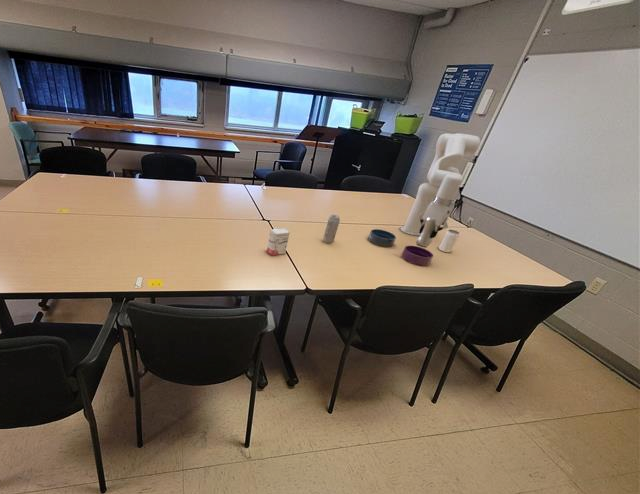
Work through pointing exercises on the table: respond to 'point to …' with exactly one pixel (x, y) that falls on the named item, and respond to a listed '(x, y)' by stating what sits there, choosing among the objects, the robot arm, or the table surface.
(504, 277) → the table surface
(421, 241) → the silver metal bottle
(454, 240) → the can
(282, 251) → the ink box
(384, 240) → the blue bowl
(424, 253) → the plum bowl
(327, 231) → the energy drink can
